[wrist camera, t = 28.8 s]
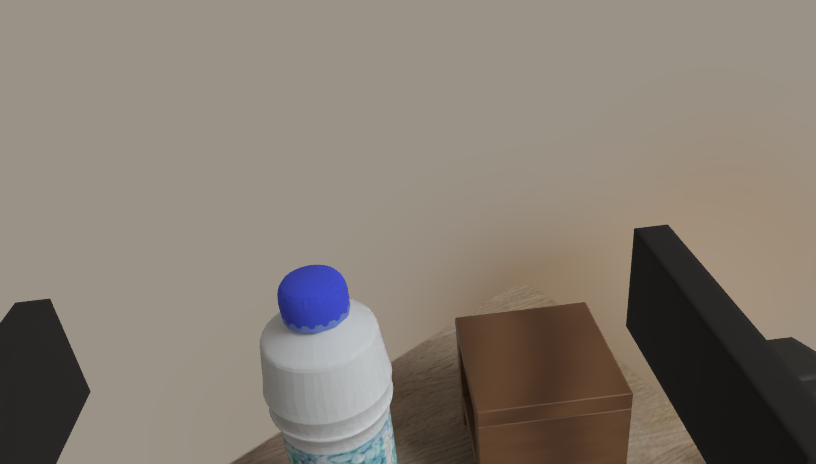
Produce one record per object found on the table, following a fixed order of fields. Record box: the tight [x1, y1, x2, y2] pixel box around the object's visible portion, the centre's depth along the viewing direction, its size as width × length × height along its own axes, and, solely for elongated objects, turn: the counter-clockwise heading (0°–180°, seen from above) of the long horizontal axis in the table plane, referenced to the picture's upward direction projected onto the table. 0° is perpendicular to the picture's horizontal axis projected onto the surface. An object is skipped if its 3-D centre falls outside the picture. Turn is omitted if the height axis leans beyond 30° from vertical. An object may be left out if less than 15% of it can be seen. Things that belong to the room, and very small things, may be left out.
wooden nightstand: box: [455, 302, 633, 464], centre depth 44 cm, size 9×9×9 cm
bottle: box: [260, 265, 397, 464], centre depth 37 cm, size 7×7×20 cm
